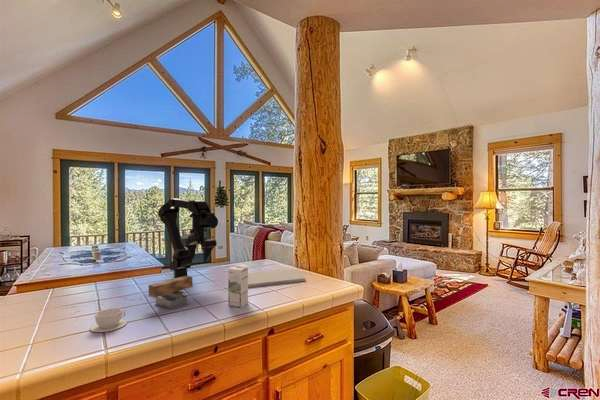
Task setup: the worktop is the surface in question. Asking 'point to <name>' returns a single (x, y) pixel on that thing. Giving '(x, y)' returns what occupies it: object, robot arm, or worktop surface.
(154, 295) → the walnut bar
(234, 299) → the syrup box
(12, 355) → the worktop surface
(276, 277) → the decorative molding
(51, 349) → the worktop surface
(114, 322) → the teacup
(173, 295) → the ridge block
